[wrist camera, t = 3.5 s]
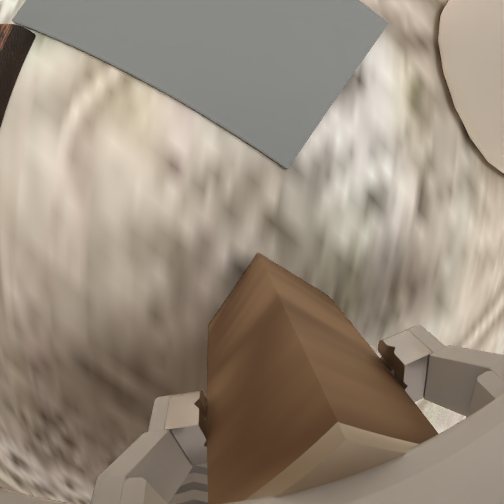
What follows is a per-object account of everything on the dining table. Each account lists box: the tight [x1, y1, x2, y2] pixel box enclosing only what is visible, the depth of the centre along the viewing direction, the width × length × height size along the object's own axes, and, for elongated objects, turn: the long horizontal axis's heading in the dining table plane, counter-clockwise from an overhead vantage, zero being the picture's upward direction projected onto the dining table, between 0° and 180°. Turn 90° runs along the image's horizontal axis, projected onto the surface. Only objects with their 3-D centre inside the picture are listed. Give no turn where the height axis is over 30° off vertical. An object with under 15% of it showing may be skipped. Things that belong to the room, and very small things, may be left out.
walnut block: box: [207, 253, 438, 504], centre depth 9 cm, size 4×4×10 cm
